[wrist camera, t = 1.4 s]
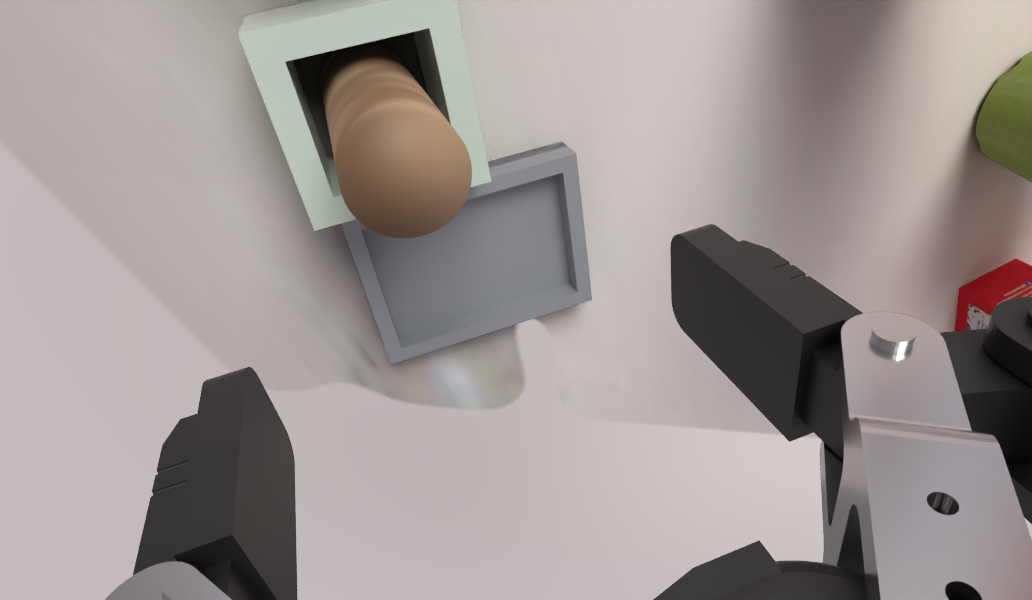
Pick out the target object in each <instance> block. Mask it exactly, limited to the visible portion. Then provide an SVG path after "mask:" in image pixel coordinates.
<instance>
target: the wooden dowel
mask: <svg viewBox="0 0 1032 600" xmlns="http://www.w3.org/2000/svg"><path fill="white" fill-rule="evenodd" d="M320 87H321V94H322V99H323V104H324V109H325V114H326V120H327V125H328V130H329V135H330V140H331V145H332V151H333V156H334V161H335V166H336V171H337V176H338V182H339V187H340V191H341V194H342V197H343V199H344V202H345V204H346V206H347V207H348V209H349V211H350V212H351V213H352V214H353V216H354V217H355V218H356V219H357V220H358V221H359V222H360V223H362V224H363V225H364V226H366V227H367V228H369V229H371V230H372V231H374V232H376V233H379V234H381V235H385V236H388V237H394V238H415V237H420V236H424V235H427V234H429V233H432V232H434V231H436V230H438V229H440V228H441V227H443V226H444V225H446V224H447V223H448V222H449V221H451V220H452V219H453V218H454V217H455V216H456V214H457V213H458V212H459V211H460V209H461V208H462V206H463V205H464V203H465V201H466V199H467V196H468V194H469V191H470V187H471V181H472V165H471V159H470V156H469V152H468V150H467V148H466V146H465V144H464V142H463V141H462V139H461V137H460V136H459V135H458V134H457V132H456V131H455V130H454V128H453V127H452V126H451V125H450V123H449V122H448V121H447V119H446V118H445V117H444V116H443V114H442V113H441V112H440V110H439V109H438V108H437V107H436V105H435V104H434V103H433V101H432V100H431V99H430V98H429V96H428V95H427V94H426V92H425V91H424V90H423V89H422V87H421V86H420V85H419V83H418V82H417V81H416V80H415V78H414V77H413V76H412V74H411V73H410V72H409V71H408V69H407V68H406V67H405V65H404V64H403V63H402V62H401V60H400V59H399V58H398V57H397V56H396V55H395V54H394V53H393V52H392V51H391V50H390V49H388V48H387V47H385V46H383V45H381V44H378V43H375V42H368V43H364V44H359V45H355V46H351V47H346V48H342V49H338V50H335V51H334V52H333V53H332V54H331V55H330V57H329V58H328V59H327V61H326V63H325V65H324V67H323V70H322V73H321V80H320Z"/></svg>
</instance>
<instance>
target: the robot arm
mask: <svg viewBox="0 0 1032 600" xmlns="http://www.w3.org/2000/svg"><path fill="white" fill-rule="evenodd" d="M671 294H672V307H673V311H674V314H675V317H676V319H677V322H678V324H679V325H680V327H681V328H682V330H683V331H684V332H685V333H686V334H687V335H688V336H689V337H690V338H691V339H692V340H693V341H694V343H695V344H696V345H697V346H698V347H699V348H700V349H701V350H702V351H703V352H704V353H705V354H706V355H707V356H708V357H709V358H710V359H711V360H712V361H713V362H714V363H715V364H716V365H717V367H718V368H719V369H720V370H721V371H722V372H723V373H724V374H725V375H726V376H727V377H728V378H729V379H730V380H731V381H732V382H733V383H734V384H735V385H736V386H737V387H738V388H739V389H740V391H741V392H742V393H743V394H744V395H745V396H746V397H747V398H748V399H749V400H750V401H751V402H752V403H753V404H754V405H755V406H756V407H757V408H758V409H759V410H760V411H761V412H762V413H763V415H764V416H765V417H766V418H767V419H768V420H769V421H770V422H771V423H772V424H773V425H774V426H775V427H776V428H777V429H778V430H779V431H780V432H781V433H782V434H783V435H784V436H785V437H786V438H787V440H788V441H792V440H795V439H797V438H800V437H803V436H805V435H808V434H810V433H813V432H814V433H815V434H816V435H817V436H818V437H819V438H820V439H821V440H822V442H821V448H820V470H821V490H822V511H823V532H824V555H823V563H818V562H809V561H777V562H775V560H774V559H773V558H772V557H771V555H770V554H769V553H768V551H767V550H766V549H765V547H764V546H763V545H762V544H761V542H760V541H757V542H755V543H752V544H750V545H747V546H745V547H743V548H740V549H738V550H735V551H733V552H731V553H728V554H726V555H723V556H721V557H719V558H716V559H714V560H712V561H709V562H706V563H704V564H702V565H699V566H697V567H694V568H693V569H691V570H690V571H689V572H688V573H686V574H685V575H684V576H683V577H681V578H680V579H679V580H677V581H676V582H675V583H674V584H672V585H671V586H670V587H669V588H667V589H666V590H665V591H664V592H663V593H661V594H660V595H659V596H657V597H656V598H655V599H654V600H1032V540H1031V537H1030V534H1029V531H1028V528H1027V525H1026V522H1025V519H1024V518H1026V519H1027V520H1028V521H1029V522H1030V523H1031V524H1032V297H1019V298H1013V299H1009V300H1006V301H1003V302H1001V303H1000V304H998V305H997V306H996V307H995V308H994V310H993V312H992V315H991V318H990V321H989V324H988V327H987V328H986V329H976V330H965V331H955V332H944V333H939V332H938V331H937V330H936V329H935V328H933V327H932V326H930V325H929V324H927V323H925V322H923V321H921V320H919V319H916V318H914V317H911V316H907V315H904V314H899V313H893V312H869V313H862V312H861V311H859V310H858V309H856V308H855V307H853V306H852V305H850V304H849V303H847V302H846V301H845V300H843V299H842V298H840V297H839V296H837V295H836V294H834V293H833V292H832V291H830V290H829V289H827V288H826V287H824V286H823V285H821V284H820V283H818V282H817V281H816V280H814V279H813V278H811V277H810V276H808V277H806V275H805V273H804V272H803V271H801V270H800V269H798V268H797V267H795V266H794V265H792V266H790V264H789V262H788V261H787V260H785V259H784V258H782V257H781V256H779V255H778V254H776V253H775V252H773V251H772V250H771V249H768V248H765V247H762V246H759V245H756V244H753V243H750V242H747V241H744V240H743V241H740V242H738V241H736V240H735V239H734V238H732V237H731V236H729V235H728V234H727V233H725V232H724V231H723V230H721V229H720V228H718V227H717V226H715V225H712V224H710V225H706V226H703V227H700V228H697V229H694V230H690V231H687V232H684V233H681V234H678V235H675V236H674V237H673V239H672V241H671ZM294 465H295V463H294V455H293V450H292V446H291V442H290V439H289V436H288V433H287V431H286V429H285V427H284V425H283V423H282V421H281V419H280V417H279V415H278V413H277V412H276V410H275V408H274V406H273V404H272V402H271V400H270V398H269V396H268V394H267V393H266V391H265V389H264V387H263V385H262V383H261V381H260V379H259V377H258V376H257V374H256V372H255V371H254V370H253V369H252V368H251V367H247V368H244V369H241V370H238V371H234V372H231V373H228V374H225V375H222V376H219V377H215V378H212V379H209V380H206V381H204V383H203V386H202V391H201V397H200V402H199V409H198V414H195V415H192V416H189V417H186V418H183V419H180V421H179V422H178V424H177V425H176V426H175V428H174V429H173V431H172V432H171V434H170V435H169V437H168V438H167V439H166V441H165V443H164V444H163V446H162V450H161V454H160V459H159V463H158V468H157V472H158V475H156V476H155V481H154V485H153V489H152V492H153V496H152V497H151V499H150V502H149V507H148V511H147V516H146V520H145V524H144V529H143V533H142V537H141V542H140V546H139V551H138V555H137V559H136V564H135V569H134V573H133V576H132V577H130V578H129V579H127V580H126V581H125V582H124V583H122V584H121V585H120V586H118V587H117V588H116V589H115V590H114V591H113V592H112V593H111V594H110V595H109V596H108V597H107V598H106V600H297V564H296V516H295V514H296V513H295V466H294Z"/></svg>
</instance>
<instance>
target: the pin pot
mask: <svg viewBox="0 0 1032 600" xmlns="http://www.w3.org/2000/svg"><path fill="white" fill-rule="evenodd" d="M411 32H413V33H414V37H415V41H416V46H417V50H418V54H419V58H420V62H421V67H422V71H423V75H424V79H425V83H426V88H427V92H428V96H429V98H430V99H431V100H432V101H433V103H434V104H435V105H436V107H437V108H438V109H439V110H440V112H441V113H442V114H443V116H444V117H445V118H446V119H447V121H448V122H449V123H450V125H451V126H452V127H453V128H454V130H455V131H456V132H457V134H458V135H459V136H460V137H461V139H462V141H463V142H464V144H465V146H466V148H467V150H468V152H469V156H470V159H471V165H472V181H471V187H474V186H477V185H481V184H484V183H488V182H491V176H490V171H489V166H488V161H487V156H486V151H485V145H484V140H483V135H482V130H481V125H480V120H479V115H478V110H477V105H476V100H475V94H474V89H473V84H472V79H471V74H470V69H469V64H468V59H467V54H466V48H465V43H464V38H463V33H462V28H461V23H460V18H459V13H458V8H457V3H456V0H313V1H308V2H304V3H299V4H294V5H290V6H285V7H281V8H276V9H272V10H267V11H262V12H258V13H253V14H249V15H245V17H244V20H243V22H242V25H241V27H240V30H239V32H238V36H239V39H240V42H241V44H242V47H243V49H244V52H245V54H246V57H247V60H248V62H249V65H250V67H251V70H252V72H253V75H254V77H255V80H256V83H257V85H258V88H259V90H260V93H261V95H262V98H263V101H264V103H265V106H266V108H267V111H268V113H269V116H270V118H271V121H272V124H273V126H274V129H275V131H276V134H277V136H278V139H279V142H280V144H281V147H282V149H283V152H284V154H285V157H286V160H287V162H288V165H289V167H290V170H291V172H292V175H293V177H294V180H295V183H296V185H297V188H298V190H299V193H300V195H301V198H302V201H303V203H304V206H305V208H306V211H307V213H308V216H309V218H310V221H311V224H312V226H313V229H314V231H316V230H320V229H324V228H327V227H331V226H334V225H338V224H341V223H345V222H349V221H352V220H356V218H355V217H354V216H353V214H352V213H351V212H350V211H349V209H348V207H347V206H346V204H345V202H344V199H343V197H342V194H341V191H340V187H339V182H338V176H337V171H336V166H335V161H334V157H330V158H327V157H326V154H325V151H324V148H323V145H322V142H321V140H320V137H319V134H318V131H317V128H316V125H315V122H314V120H313V117H312V114H311V111H310V108H309V105H308V102H307V100H306V97H305V94H304V91H303V88H302V85H301V82H300V80H299V77H298V74H297V71H296V68H295V65H294V62H293V60H295V59H299V58H304V57H308V56H312V55H316V54H321V53H325V52H329V51H334V50H338V49H342V48H346V47H351V46H355V45H359V44H364V43H368V42H372V41H376V40H381V39H385V38H389V37H394V36H398V35H402V34H406V33H411Z"/></svg>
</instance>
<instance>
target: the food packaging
mask: <svg viewBox="0 0 1032 600" xmlns="http://www.w3.org/2000/svg"><path fill="white" fill-rule="evenodd" d="M1019 297H1032V266H1030V265H1028V264H1026V263H1024V262H1022V261H1020V260H1018V259H1014V260H1012V261H1010V262H1009V263H1007V264H1005V265H1003V266H1001V267H999V268H997V269H995V270H993V271H991V272H989V273H987V274H985V275H984V276H982V277H980V278H978V279H976V280H974V281H972V282H970V283H968V284H966V285H964V286H962V287H961V288H959V298H958V307H957V316H956V325H955V331H965V330H976V329H986V328H987V327H988V324H989V321H990V318H991V315H992V312H993V310H994V308H995V307H996V306H997V305H998V304H1000V303H1001V302H1003V301H1006V300H1009V299H1013V298H1019Z"/></svg>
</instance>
